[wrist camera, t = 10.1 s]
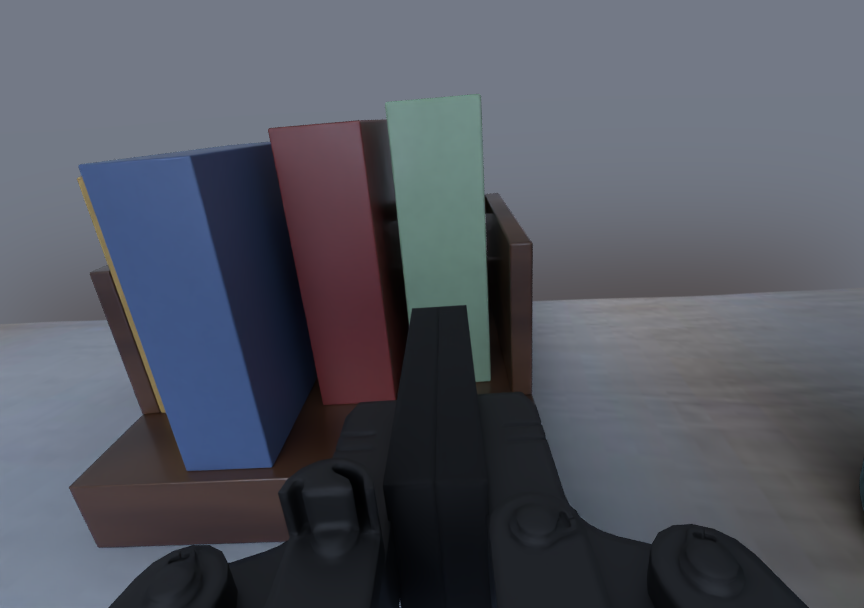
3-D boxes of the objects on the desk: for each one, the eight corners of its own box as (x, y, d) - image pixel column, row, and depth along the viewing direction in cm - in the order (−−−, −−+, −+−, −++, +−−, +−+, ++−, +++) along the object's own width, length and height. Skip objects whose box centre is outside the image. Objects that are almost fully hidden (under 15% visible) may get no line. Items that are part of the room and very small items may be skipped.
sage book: (491, 381, 19) (481, 93, 15) (415, 385, 19) (384, 102, 15) (478, 301, 27) (469, 102, 23) (425, 304, 28) (407, 107, 24)
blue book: (272, 468, 15) (189, 155, 12) (186, 471, 15) (76, 164, 12) (334, 344, 24) (297, 139, 20) (277, 347, 24) (230, 144, 20)
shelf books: (396, 402, 18) (360, 120, 14) (160, 414, 19) (63, 145, 15) (411, 313, 27) (391, 119, 23) (248, 323, 27) (200, 135, 23)
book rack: (553, 533, 15) (559, 280, 12) (97, 548, 16) (-16, 317, 13) (502, 335, 29) (499, 192, 26) (258, 349, 30) (224, 213, 27)
